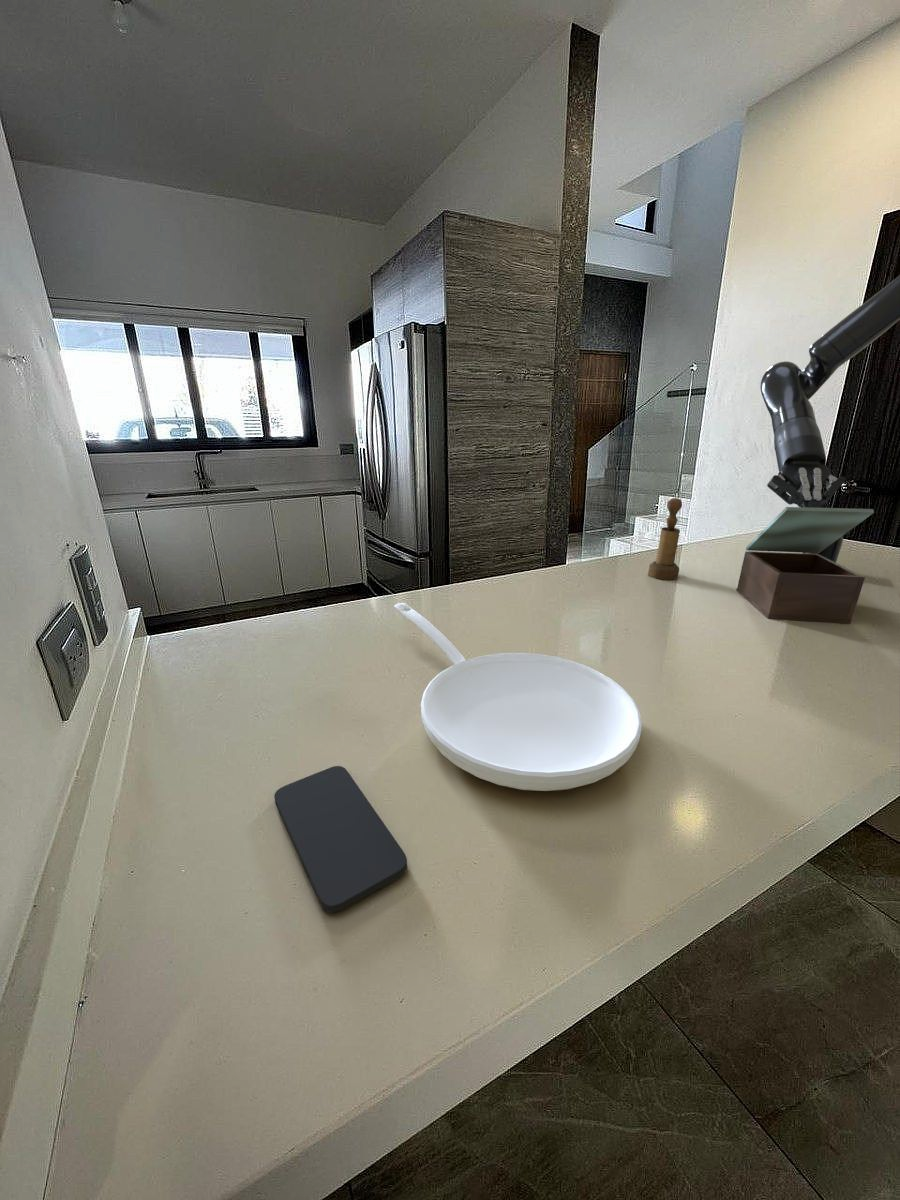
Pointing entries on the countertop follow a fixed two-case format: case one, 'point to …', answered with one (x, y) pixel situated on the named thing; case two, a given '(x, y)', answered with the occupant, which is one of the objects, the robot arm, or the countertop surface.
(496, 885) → the countertop surface
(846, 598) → the case
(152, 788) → the countertop surface
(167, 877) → the countertop surface
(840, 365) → the robot arm
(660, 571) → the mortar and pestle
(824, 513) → the glass lid
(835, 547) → the supplement bottle
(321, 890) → the phone
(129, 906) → the countertop surface
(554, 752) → the pan
